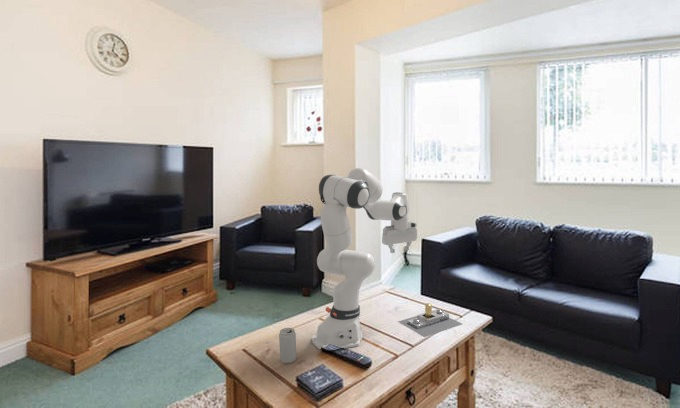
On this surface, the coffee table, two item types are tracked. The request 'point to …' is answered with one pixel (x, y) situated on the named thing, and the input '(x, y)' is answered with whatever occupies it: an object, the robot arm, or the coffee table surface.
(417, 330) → the gray base plate
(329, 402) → the coffee table surface
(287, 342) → the beverage can
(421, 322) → the slotted latch plate
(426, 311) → the brass pin
